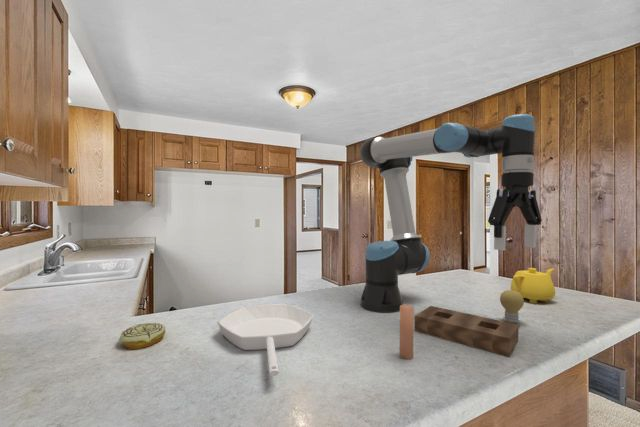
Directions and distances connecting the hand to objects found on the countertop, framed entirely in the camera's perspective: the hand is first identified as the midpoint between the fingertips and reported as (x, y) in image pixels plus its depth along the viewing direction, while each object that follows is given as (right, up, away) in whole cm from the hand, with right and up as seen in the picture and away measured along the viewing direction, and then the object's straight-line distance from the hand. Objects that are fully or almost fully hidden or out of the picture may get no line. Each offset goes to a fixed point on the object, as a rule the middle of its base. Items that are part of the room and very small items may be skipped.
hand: (515, 248), depth 86 cm
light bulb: (+6, -25, +11) cm, 28 cm away
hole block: (-14, -25, +1) cm, 28 cm away
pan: (-68, -25, -5) cm, 73 cm away
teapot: (+30, -24, +36) cm, 52 cm away
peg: (-34, -25, -11) cm, 43 cm away
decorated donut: (-102, -25, -3) cm, 105 cm away
